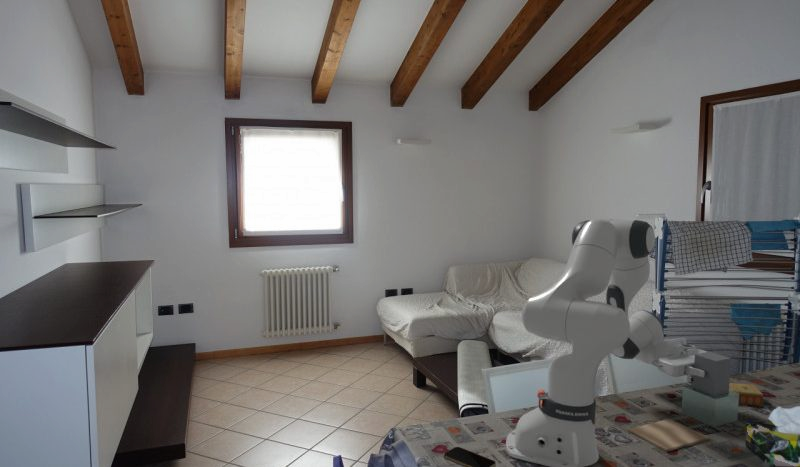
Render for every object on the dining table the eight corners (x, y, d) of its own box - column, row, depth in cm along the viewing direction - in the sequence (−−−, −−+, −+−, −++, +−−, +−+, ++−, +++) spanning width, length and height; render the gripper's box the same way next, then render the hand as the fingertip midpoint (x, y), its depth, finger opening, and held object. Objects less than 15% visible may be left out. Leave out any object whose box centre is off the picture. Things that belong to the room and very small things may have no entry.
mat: (666, 451, 131) (666, 449, 131) (628, 431, 142) (628, 429, 142) (709, 439, 138) (709, 437, 138) (669, 420, 148) (669, 418, 148)
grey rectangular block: (713, 395, 146) (715, 361, 145) (692, 387, 152) (694, 354, 151) (728, 392, 149) (730, 358, 148) (707, 384, 155) (709, 351, 154)
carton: (762, 407, 159) (763, 393, 158) (703, 400, 163) (704, 387, 163) (753, 396, 167) (754, 383, 166) (696, 390, 171) (697, 378, 171)
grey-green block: (713, 427, 145) (716, 385, 144) (681, 412, 154) (683, 373, 153) (737, 420, 149) (740, 379, 148) (704, 407, 158) (706, 368, 157)
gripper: (648, 352, 157) (690, 366, 145) (694, 344, 166) (738, 357, 153) (647, 372, 158) (689, 388, 145) (693, 363, 166) (736, 378, 154)
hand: (714, 372), depth 149 cm, fingers closed on grey rectangular block, 6 cm apart
